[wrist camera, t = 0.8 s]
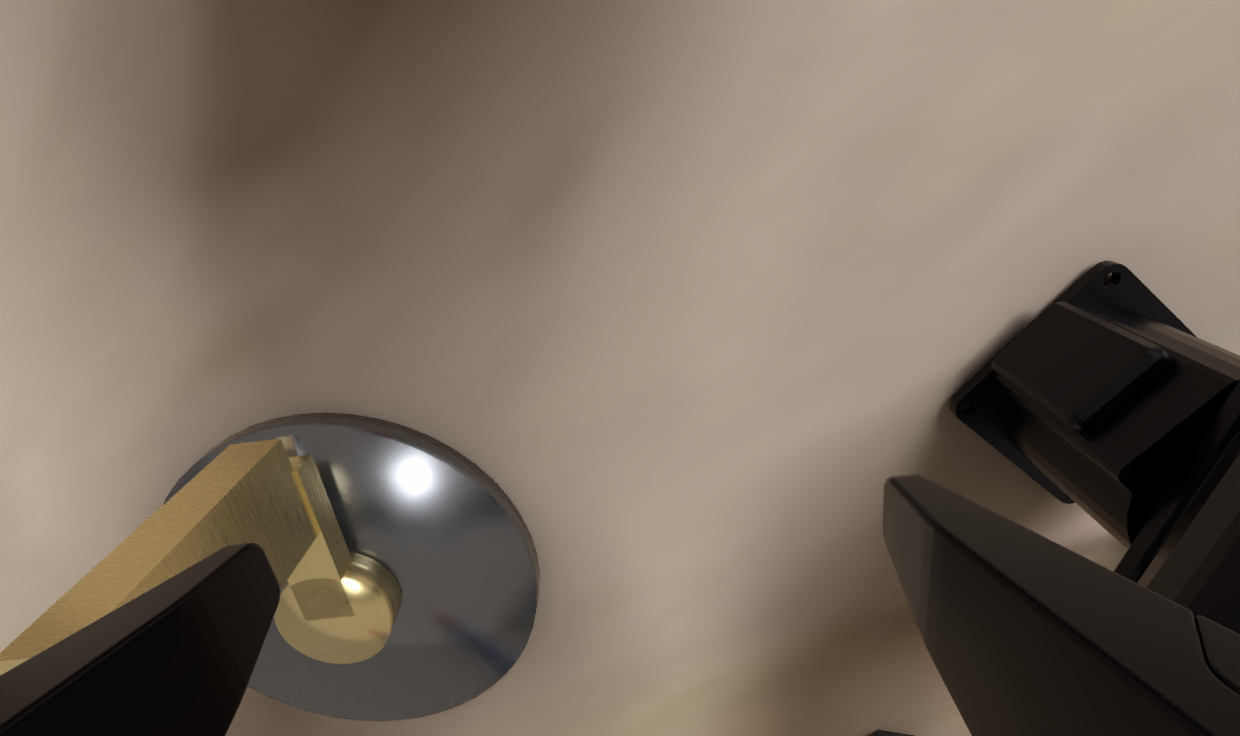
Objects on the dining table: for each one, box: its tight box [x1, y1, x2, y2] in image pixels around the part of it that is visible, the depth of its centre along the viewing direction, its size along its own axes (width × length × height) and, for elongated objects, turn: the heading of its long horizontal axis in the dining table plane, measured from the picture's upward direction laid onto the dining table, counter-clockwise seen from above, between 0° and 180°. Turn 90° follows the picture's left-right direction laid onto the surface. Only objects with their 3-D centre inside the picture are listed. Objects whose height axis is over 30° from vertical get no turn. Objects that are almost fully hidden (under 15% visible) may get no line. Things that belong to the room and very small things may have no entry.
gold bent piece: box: [0, 438, 402, 675], centre depth 18 cm, size 9×4×9 cm, turn 8°
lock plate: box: [163, 413, 539, 721], centre depth 24 cm, size 14×14×1 cm
